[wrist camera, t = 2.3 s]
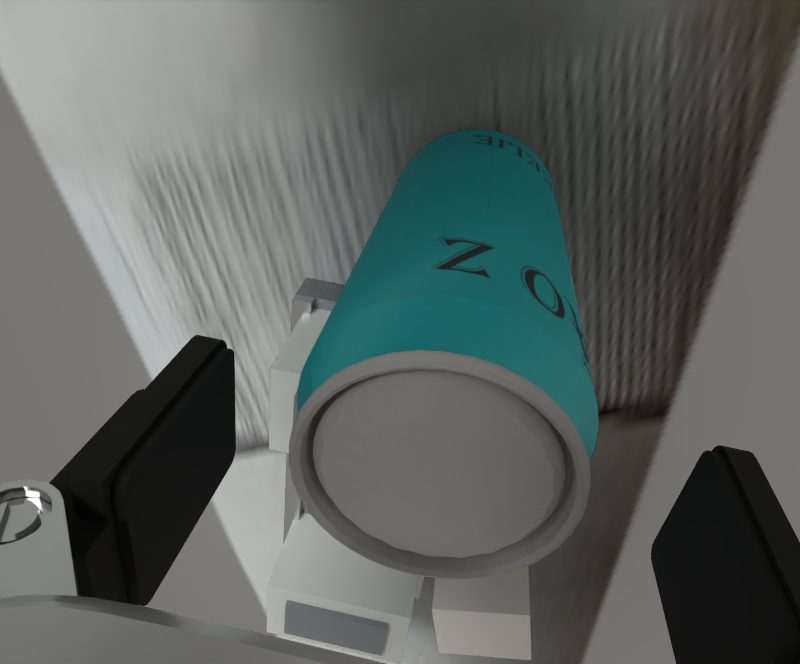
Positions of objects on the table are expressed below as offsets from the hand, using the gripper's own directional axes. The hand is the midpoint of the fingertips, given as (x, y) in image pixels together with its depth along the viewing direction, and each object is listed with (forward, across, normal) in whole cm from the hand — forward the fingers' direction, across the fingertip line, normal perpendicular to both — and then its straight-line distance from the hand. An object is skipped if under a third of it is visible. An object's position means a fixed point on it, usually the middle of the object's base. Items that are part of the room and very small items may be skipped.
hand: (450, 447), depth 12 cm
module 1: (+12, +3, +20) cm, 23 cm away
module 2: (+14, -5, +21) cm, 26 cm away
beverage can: (+14, 0, -1) cm, 14 cm away
